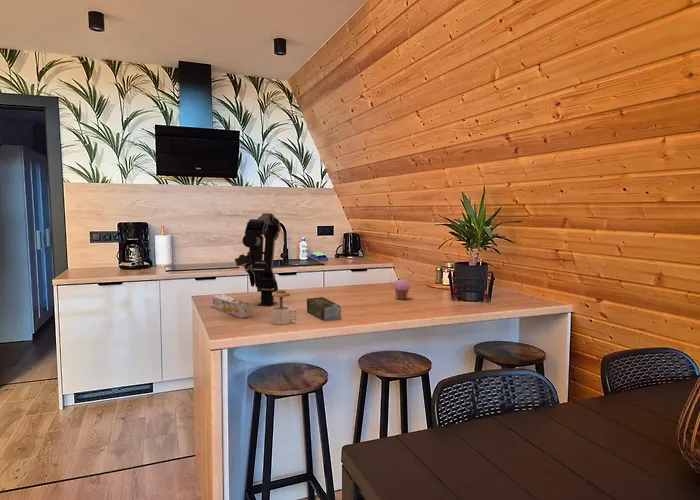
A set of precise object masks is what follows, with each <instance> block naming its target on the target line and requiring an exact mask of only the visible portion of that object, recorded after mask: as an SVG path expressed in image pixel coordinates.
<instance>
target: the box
mask: <svg viewBox="0 0 700 500" xmlns="http://www.w3.org/2000/svg"><path fill="white" fill-rule="evenodd" d="M211 299H212V300H211V301H212V308H215V309H217V310H219V311H222V312H223V313H224V312H225V313H227V314H229V315H231V316H234V317H237V318H239V319H242V318H249V317H252V305H251V303H248V302H245V301H242V300H241V299H237V298H234V297H230V296H228V295H225V294H217V295H211Z"/></svg>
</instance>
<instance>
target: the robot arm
mask: <svg viewBox="0 0 700 500" xmlns="http://www.w3.org/2000/svg"><path fill="white" fill-rule="evenodd" d="M281 229H282V227H281V222H280V220H279V219H278V218H276V216H275V215H274V214H273V213H269V212H268V213H266V212H265V213H262V214H261V216H259V217H258V218H253V219H252V218H251V219H249V220H248V222H247V223H246V226H245V230H244V236H242V244H243V246H245V248H246V247H247V248H248V251H247V254H246V255H245V254H244V253H242V254H239V256H238V257H237V258H234V262H235V266H236V267H240V266H242V265H243V269H244V271H245V272H246V273H247V275H248V277H249V283H250V287H255V288H256V289H257V292H258V293H259V292H260V302H259V303H258V304H257V305H259V306H267V307H271V306H274V305H276V304H277V301H275V296H272V292H275V291H277V290H279V286H278V282H277V279H276V275H275V273H274V272H273V267H274V256H275V245H276V241H277V239H278V238H279V237H280V232H281ZM264 239H265V241H264Z"/></svg>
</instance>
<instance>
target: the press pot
mask: <svg viewBox="0 0 700 500" xmlns="http://www.w3.org/2000/svg"><path fill="white" fill-rule="evenodd" d="M292 313H293V317H292ZM296 320H297V309H293V308H292V307H291V306H287V305H283V308H280V305H278V306H277V305H276V306H272V307H270V324H272V325H278V326H280V325H288V324H291V322H292V321H296Z"/></svg>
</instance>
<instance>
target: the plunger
mask: <svg viewBox="0 0 700 500" xmlns="http://www.w3.org/2000/svg"><path fill="white" fill-rule="evenodd" d="M272 296H274V298H275V297H277V298H279V306H280V308H283V306H284V305H283V302H284V301H283V300H284V299H283V298H286V297H290V296H291V292H290V291H288V290H286V289H278V290H277V291H275V292H272Z"/></svg>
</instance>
